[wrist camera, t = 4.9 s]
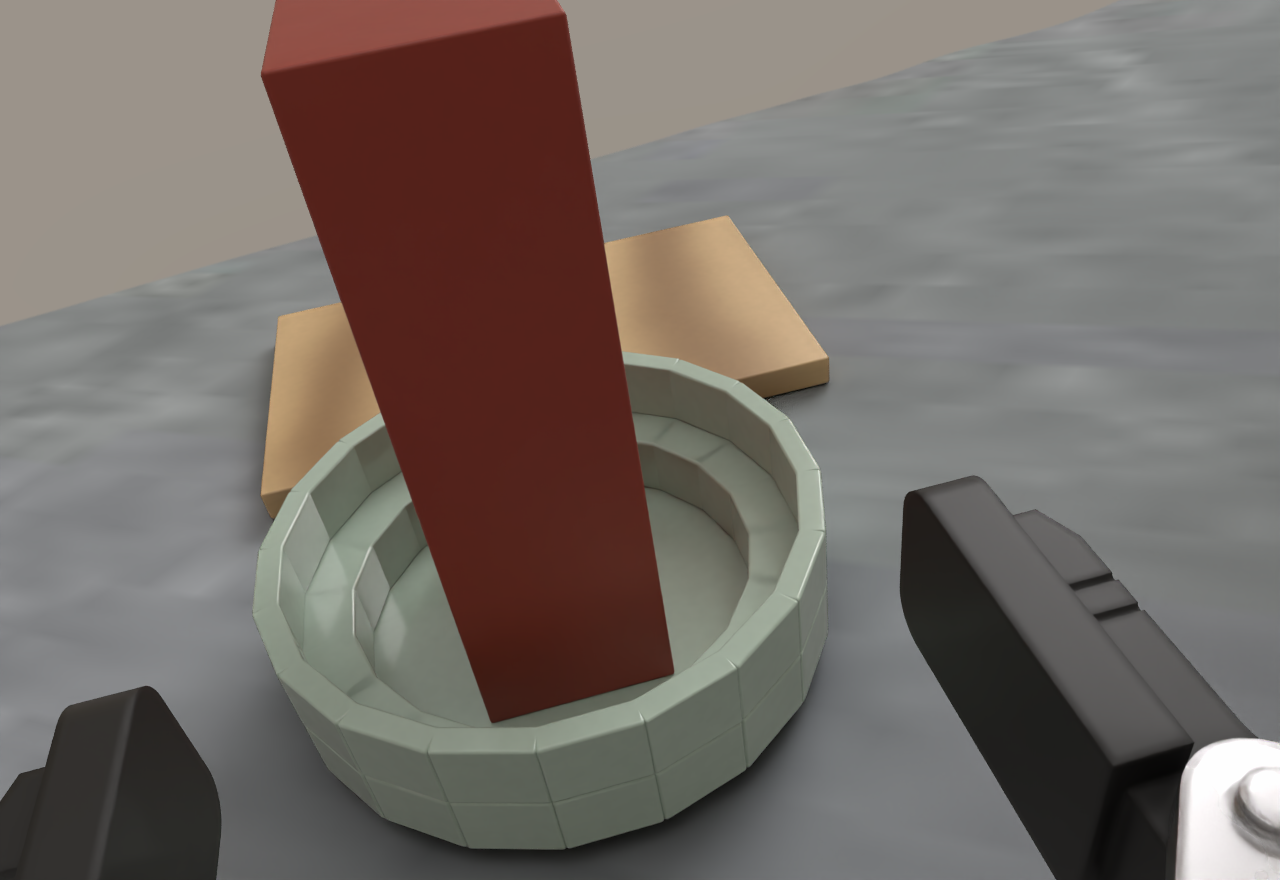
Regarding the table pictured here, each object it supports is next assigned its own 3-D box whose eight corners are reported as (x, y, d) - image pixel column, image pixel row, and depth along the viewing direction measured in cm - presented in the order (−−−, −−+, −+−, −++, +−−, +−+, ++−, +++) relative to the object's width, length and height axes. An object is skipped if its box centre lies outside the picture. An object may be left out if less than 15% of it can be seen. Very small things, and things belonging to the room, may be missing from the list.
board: (729, 236, 42) (727, 214, 41) (830, 382, 33) (829, 357, 33) (286, 337, 40) (277, 316, 39) (270, 520, 31) (259, 495, 31)
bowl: (734, 418, 32) (725, 309, 30) (918, 766, 22) (927, 644, 20) (316, 521, 31) (270, 416, 28) (303, 944, 21) (229, 837, 18)
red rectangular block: (621, 511, 29) (512, -71, 19) (675, 674, 24) (566, 11, 15) (466, 550, 28) (279, -27, 19) (491, 724, 24) (258, 73, 14)
